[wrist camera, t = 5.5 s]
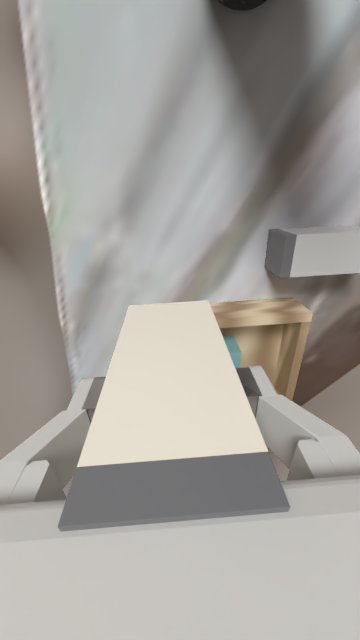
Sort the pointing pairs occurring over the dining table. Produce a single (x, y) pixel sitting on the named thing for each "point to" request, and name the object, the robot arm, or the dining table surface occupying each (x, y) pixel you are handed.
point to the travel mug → (242, 4)
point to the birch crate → (268, 336)
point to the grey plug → (313, 251)
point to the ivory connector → (171, 430)
